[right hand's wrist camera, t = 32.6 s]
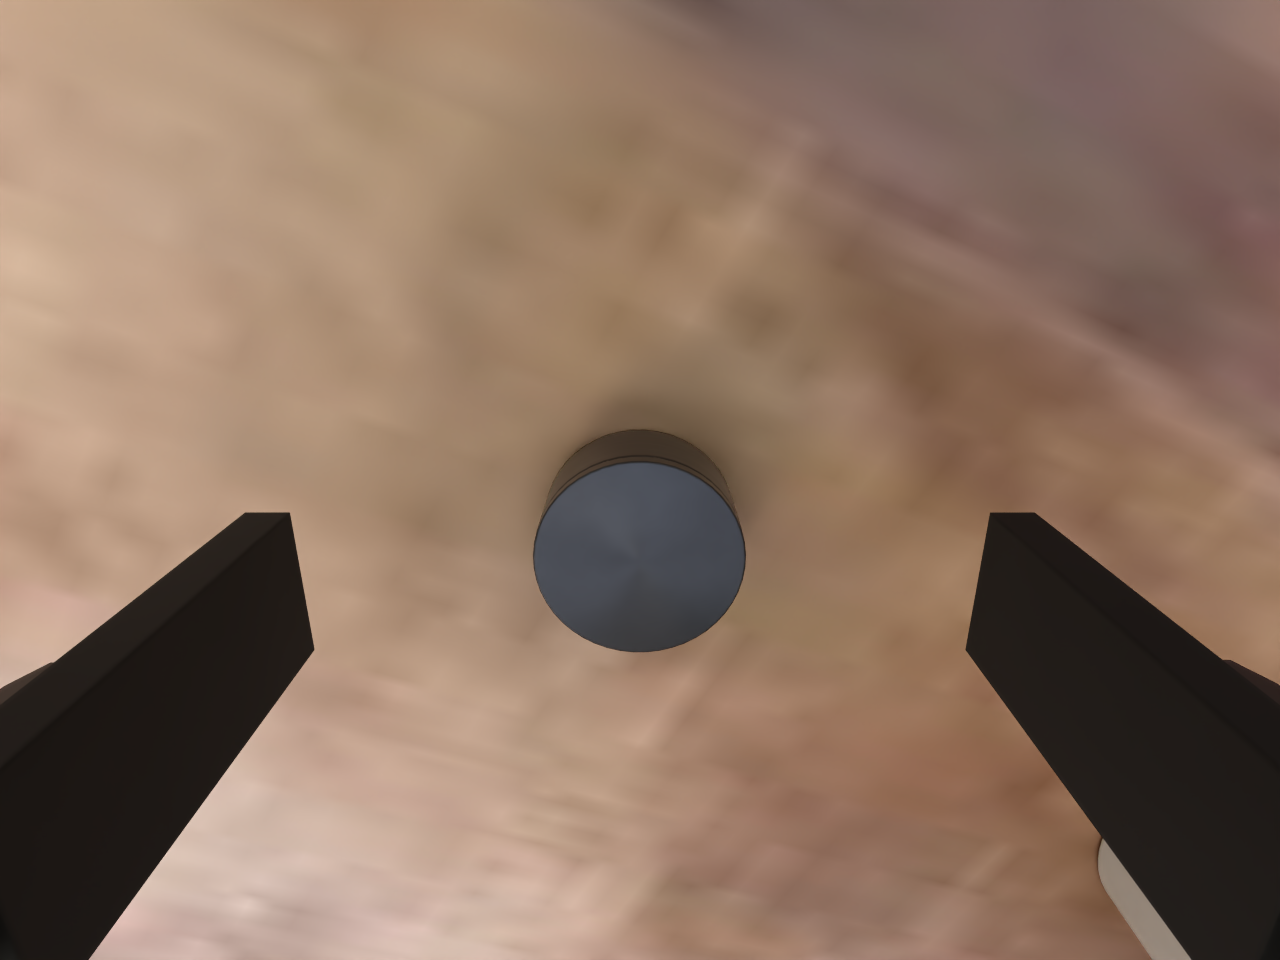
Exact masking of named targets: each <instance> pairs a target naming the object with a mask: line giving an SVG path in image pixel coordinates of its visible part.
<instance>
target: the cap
mask: <svg viewBox="0 0 1280 960" xmlns="http://www.w3.org/2000/svg"><path fill="white" fill-rule="evenodd" d="M745 561H746V551H745V541H744V537H743V533H742V529H741V526H740V523H739V520H738V516H737V513H736V510H735V507H734V503H733V500H732V497H731V494H730V491H729V488H728V486H727V483H726V481H725V479H724V478H723V476H722V474H721V472H720V471H719V470H718V468H717V467H716V466H715V464H714V463H713V462H712V461H711V460H710V459H709V458H708V457H707V456H706V455H705V454H704V453H703V452H701V451H700V450H699V449H697V448H696V447H695V446H693V445H691V444H690V443H688V442H686V441H684V440H682V439H680V438H677V437H675V436H672V435H669V434H665V433H661V432H656V431H648V430H631V431H623V432H618V433H614V434H610V435H607V436H604V437H602V438H599V439H597V440H595V441H593V442H591V443H589V444H588V445H586V446H584V447H583V448H582V449H580V450H579V451H578V452H576V453H575V454H574V455H573V456H572V457H571V458H570V459H569V460H568V461H567V462H566V463H565V464H564V466H563V467H562V468H561V470H560V471H559V473H558V474H557V476H556V478H555V480H554V481H553V484H552V486H551V489H550V491H549V494H548V497H547V500H546V504H545V507H544V510H543V513H542V516H541V519H540V523H539V526H538V529H537V533H536V537H535V541H534V551H533V562H534V571H535V576H536V580H537V583H538V586H539V589H540V591H541V593H542V595H543V597H544V599H545V601H546V603H547V604H548V606H549V607H550V608H551V610H552V611H553V613H554V614H555V615H556V616H557V617H558V618H559V619H560V620H561V621H562V622H563V623H564V624H565V625H566V626H567V627H569V628H570V629H571V630H572V631H574V632H575V633H577V634H578V635H580V636H581V637H583V638H585V639H587V640H589V641H591V642H593V643H595V644H598V645H601V646H604V647H606V648H611V649H615V650H619V651H628V652H651V651H660V650H664V649H668V648H673V647H675V646H678V645H681V644H684V643H686V642H688V641H690V640H692V639H694V638H696V637H698V636H699V635H701V634H702V633H704V632H705V631H707V630H708V629H709V628H711V627H712V626H713V625H714V624H715V623H716V622H717V621H718V620H719V619H720V618H721V617H722V616H723V615H724V614H725V613H726V611H727V610H728V608H729V607H730V606H731V604H732V603H733V601H734V599H735V597H736V595H737V593H738V591H739V589H740V586H741V583H742V580H743V576H744V571H745Z"/></svg>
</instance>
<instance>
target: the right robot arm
mask: <svg viewBox="0 0 1280 960" xmlns="http://www.w3.org/2000/svg"><path fill="white" fill-rule="evenodd" d="M313 651H314V645H313V639H312V633H311V628H310V622H309V617H308V611H307V606H306V600H305V594H304V589H303V583H302V578H301V572H300V567H299V561H298V555H297V550H296V544H295V539H294V533H293V528H292V522H291V516H290V513H244V514H243V515H242V516H240V517H239V518H238V519H237V520H235V521H234V522H233V523H231V524H230V525H229V526H228V527H226V528H225V529H224V530H223V531H221V532H220V533H219V534H217V535H216V536H215V537H214V538H212V539H211V540H210V541H208V542H207V543H206V544H205V545H203V546H202V547H201V548H200V549H198V550H197V551H196V552H194V553H193V554H192V555H191V556H189V557H188V558H187V559H186V560H184V561H183V562H182V563H180V564H179V565H178V566H177V567H175V568H174V569H173V570H172V571H170V572H169V573H168V574H166V575H165V576H164V577H163V578H161V579H160V580H159V581H157V582H156V583H155V584H154V585H152V586H151V587H150V588H149V589H147V590H146V591H145V592H143V593H142V594H141V595H140V596H138V597H137V598H136V599H135V600H133V601H132V602H131V603H129V604H128V605H127V606H126V607H124V608H123V609H122V610H121V611H119V612H118V613H117V614H115V615H114V616H113V617H112V618H110V619H109V620H108V621H107V622H105V623H104V624H103V625H101V626H100V627H99V628H98V629H96V630H95V631H94V632H92V633H91V634H90V635H89V636H87V637H86V638H85V639H84V640H82V641H81V642H80V643H78V644H77V645H76V646H75V647H73V648H72V649H71V650H70V651H68V652H67V653H66V654H64V655H63V656H62V657H61V658H59V659H58V660H57V661H56V662H54V663H49V664H47V665H45V666H43V667H41V668H39V669H37V670H35V671H33V672H31V673H29V674H27V675H25V676H23V677H21V678H19V679H17V680H15V681H13V682H11V683H9V684H8V685H6V686H4V687H2V688H1V689H0V960H89V958H90V957H91V956H92V954H93V953H94V952H95V950H96V949H97V947H98V946H99V945H100V943H101V942H102V941H103V939H104V938H105V936H106V935H107V934H108V932H109V931H110V930H111V928H112V927H113V925H114V924H115V923H116V921H117V920H118V919H119V917H120V916H121V915H122V913H123V912H124V910H125V909H126V908H127V906H128V905H129V904H130V902H131V901H132V899H133V898H134V897H135V895H136V894H137V893H138V891H139V890H140V888H141V887H142V886H143V884H144V883H145V882H146V880H147V879H148V877H149V876H150V875H151V873H152V872H153V871H154V869H155V868H156V866H157V865H158V864H159V862H160V861H161V860H162V858H163V857H164V856H165V854H166V853H167V851H168V850H169V849H170V847H171V846H172V845H173V843H174V842H175V840H176V839H177V838H178V836H179V835H180V834H181V832H182V831H183V829H184V828H185V827H186V825H187V824H188V823H189V821H190V820H191V818H192V817H193V816H194V814H195V813H196V812H197V810H198V809H199V807H200V806H201V805H202V803H203V802H204V801H205V799H206V798H207V797H208V795H209V794H210V792H211V791H212V790H213V788H214V787H215V786H216V784H217V783H218V781H219V780H220V779H221V777H222V776H223V775H224V773H225V772H226V770H227V769H228V768H229V766H230V765H231V764H232V762H233V761H234V759H235V758H236V757H237V755H238V754H239V753H240V751H241V750H242V748H243V747H244V746H245V744H246V743H247V742H248V740H249V739H250V737H251V736H252V735H253V733H254V732H255V731H256V729H257V728H258V727H259V725H260V724H261V722H262V721H263V720H264V718H265V717H266V716H267V714H268V713H269V711H270V710H271V709H272V707H273V706H274V705H275V703H276V702H277V700H278V699H279V698H280V696H281V695H282V694H283V692H284V691H285V689H286V688H287V687H288V685H289V684H290V683H291V681H292V680H293V678H294V677H295V676H296V674H297V673H298V672H299V670H300V669H301V668H302V666H303V665H304V663H305V662H306V661H307V659H308V658H309V657H310V655H311V654H312V652H313ZM966 651H967V652H968V654H969V655H970V657H971V658H972V659H973V661H974V662H975V663H976V665H977V666H978V668H979V669H980V670H981V672H982V673H983V674H984V676H985V677H986V678H987V680H988V681H989V683H990V684H991V685H992V687H993V688H994V689H995V691H996V692H997V694H998V695H999V696H1000V698H1001V699H1002V700H1003V702H1004V703H1005V705H1006V706H1007V707H1008V709H1009V710H1010V711H1011V713H1012V714H1013V716H1014V717H1015V718H1016V720H1017V721H1018V722H1019V724H1020V725H1021V727H1022V728H1023V729H1024V731H1025V732H1026V733H1027V735H1028V736H1029V738H1030V739H1031V740H1032V742H1033V743H1034V744H1035V746H1036V747H1037V748H1038V750H1039V751H1040V753H1041V754H1042V755H1043V757H1044V758H1045V759H1046V761H1047V762H1048V764H1049V765H1050V766H1051V768H1052V769H1053V770H1054V772H1055V773H1056V775H1057V776H1058V777H1059V779H1060V780H1061V781H1062V783H1063V784H1064V786H1065V787H1066V788H1067V790H1068V791H1069V792H1070V794H1071V795H1072V797H1073V798H1074V799H1075V801H1076V802H1077V803H1078V805H1079V806H1080V807H1081V809H1082V810H1083V812H1084V813H1085V814H1086V816H1087V817H1088V818H1089V820H1090V821H1091V823H1092V824H1093V825H1094V827H1095V828H1096V829H1097V831H1098V832H1099V834H1100V835H1101V836H1102V838H1103V839H1104V840H1105V842H1106V843H1107V845H1108V846H1109V847H1110V849H1111V850H1112V851H1113V853H1114V854H1115V856H1116V857H1117V858H1118V860H1119V861H1120V862H1121V864H1122V865H1123V867H1124V868H1125V869H1126V871H1127V872H1128V873H1129V875H1130V876H1131V877H1132V879H1133V880H1134V882H1135V883H1136V884H1137V886H1138V887H1139V888H1140V890H1141V891H1142V893H1143V894H1144V895H1145V897H1146V898H1147V899H1148V901H1149V902H1150V904H1151V905H1152V906H1153V908H1154V909H1155V910H1156V912H1157V913H1158V915H1159V916H1160V917H1161V919H1162V920H1163V921H1164V923H1165V924H1166V926H1167V927H1168V928H1169V930H1170V931H1171V932H1172V934H1173V935H1174V936H1175V938H1176V939H1177V941H1178V942H1179V943H1180V945H1181V946H1182V947H1183V949H1184V950H1185V952H1186V953H1187V954H1188V956H1189V957H1190V958H1191V960H1280V685H1278V684H1277V683H1275V682H1273V681H1271V680H1269V679H1267V678H1265V677H1263V676H1261V675H1259V674H1257V673H1255V672H1253V671H1251V670H1249V669H1247V668H1245V667H1243V666H1241V665H1239V664H1237V663H1235V662H1233V661H1231V660H1222V659H1221V658H1219V657H1218V656H1217V655H1216V654H1214V653H1213V652H1212V651H1210V650H1209V649H1208V648H1207V647H1205V646H1204V645H1203V644H1202V643H1200V642H1199V641H1198V640H1196V639H1195V638H1194V637H1193V636H1191V635H1190V634H1189V633H1187V632H1186V631H1185V630H1184V629H1182V628H1181V627H1180V626H1179V625H1177V624H1176V623H1175V622H1173V621H1172V620H1171V619H1170V618H1168V617H1167V616H1166V615H1165V614H1163V613H1162V612H1161V611H1159V610H1158V609H1157V608H1156V607H1154V606H1153V605H1152V604H1151V603H1149V602H1148V601H1147V600H1145V599H1144V598H1143V597H1142V596H1140V595H1139V594H1138V593H1137V592H1135V591H1134V590H1133V589H1131V588H1130V587H1129V586H1128V585H1126V584H1125V583H1124V582H1122V581H1121V580H1120V579H1119V578H1117V577H1116V576H1115V575H1114V574H1112V573H1111V572H1110V571H1108V570H1107V569H1106V568H1105V567H1103V566H1102V565H1101V564H1100V563H1098V562H1097V561H1096V560H1094V559H1093V558H1092V557H1091V556H1089V555H1088V554H1087V553H1086V552H1084V551H1083V550H1082V549H1080V548H1079V547H1078V546H1077V545H1075V544H1074V543H1073V542H1072V541H1070V540H1069V539H1068V538H1066V537H1065V536H1064V535H1063V534H1061V533H1060V532H1059V531H1057V530H1056V529H1055V528H1054V527H1052V526H1051V525H1050V524H1049V523H1047V522H1046V521H1045V520H1043V519H1042V518H1041V517H1040V516H1038V515H1037V514H1036V513H990V516H989V522H988V528H987V533H986V539H985V544H984V550H983V555H982V561H981V566H980V572H979V578H978V583H977V589H976V594H975V600H974V605H973V611H972V617H971V622H970V628H969V633H968V639H967V644H966Z"/></svg>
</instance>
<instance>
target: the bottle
mask: <svg viewBox="0 0 1280 960" xmlns="http://www.w3.org/2000/svg"><path fill="white" fill-rule="evenodd" d="M1098 870H1099V875H1100V879H1101V882H1102V884H1103V887H1104V889H1105V891H1106V892H1107V894H1108V895H1109V897H1110V898H1111V900H1112V901H1113V903H1114V904H1115V905H1116V907H1117V908H1118V910H1119V911H1120V913H1121V914H1122V916H1123V917H1124V919H1125V920H1126V922H1127V923H1128V925H1129V926H1130V928H1131V929H1132V931H1133V932H1134V934H1135V935H1136V937H1137V938H1138V940H1139V941H1140V942H1141V944H1142V945H1143V947H1144V948H1145V950H1146V951H1147V953H1148V954H1149V956H1150V957H1151V959H1152V960H1191V958H1190V957H1189V956H1188V954H1187V953H1186V952H1185V950H1184V949H1183V947H1182V946H1181V945H1180V943H1179V942H1178V941H1177V939H1176V938H1175V936H1174V935H1173V934H1172V932H1171V931H1170V930H1169V928H1168V927H1167V926H1166V924H1165V923H1164V921H1163V920H1162V919H1161V917H1160V916H1159V915H1158V913H1157V912H1156V910H1155V909H1154V908H1153V906H1152V905H1151V904H1150V902H1149V901H1148V899H1147V898H1146V897H1145V895H1144V894H1143V893H1142V891H1141V890H1140V888H1139V887H1138V886H1137V884H1136V883H1135V882H1134V880H1133V879H1132V877H1131V876H1130V875H1129V873H1128V872H1127V871H1126V869H1125V868H1124V867H1123V865H1122V864H1121V862H1120V861H1119V860H1118V858H1117V857H1116V856H1115V854H1114V853H1113V851H1112V850H1111V849H1110V847H1109V846H1108V845H1107V843H1106V842H1105V840H1104V839H1102V842H1101V845H1100V849H1099V855H1098Z"/></svg>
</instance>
